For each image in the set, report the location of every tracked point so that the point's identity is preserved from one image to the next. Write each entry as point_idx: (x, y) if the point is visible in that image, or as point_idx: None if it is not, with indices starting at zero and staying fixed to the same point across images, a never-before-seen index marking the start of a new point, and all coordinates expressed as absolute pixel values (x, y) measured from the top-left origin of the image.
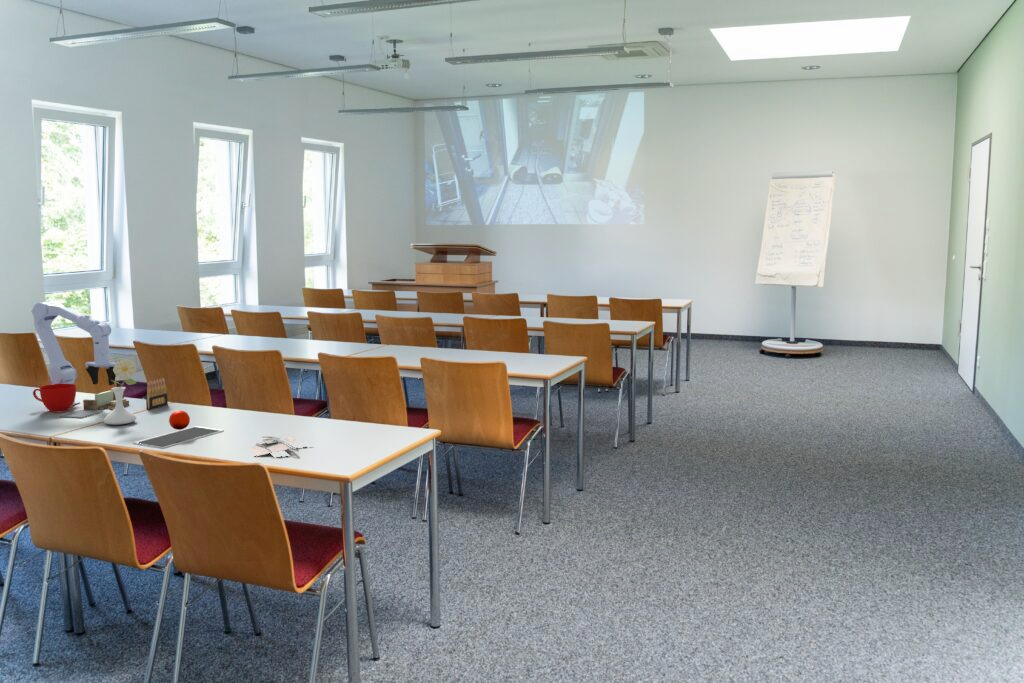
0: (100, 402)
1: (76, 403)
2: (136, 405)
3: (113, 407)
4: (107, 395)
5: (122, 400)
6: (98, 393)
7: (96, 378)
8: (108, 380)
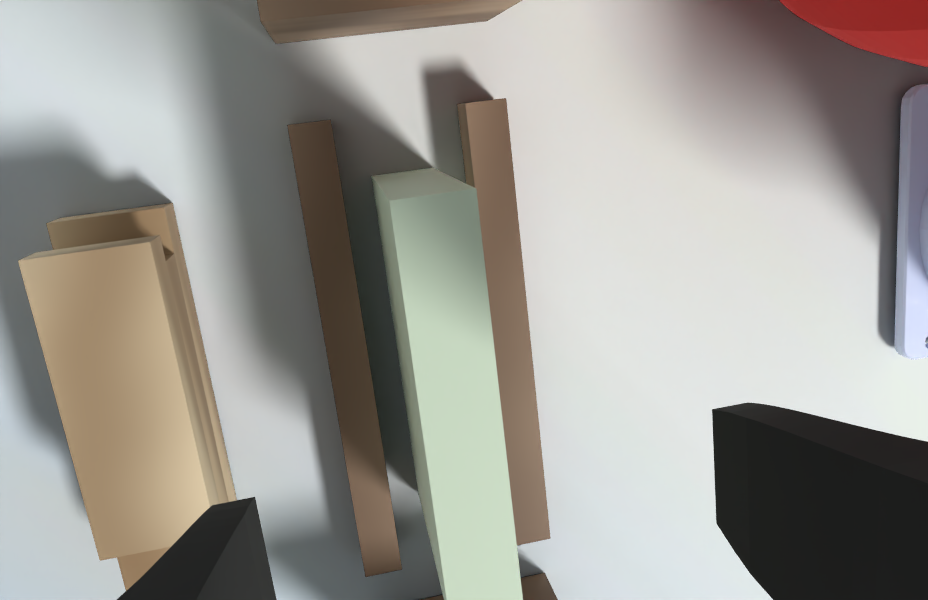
0: (384, 234)
1: (899, 285)
2: (25, 585)
3: (73, 217)
4: (422, 451)
5: (73, 456)
6: (487, 305)
7: (809, 580)
8: (223, 552)
